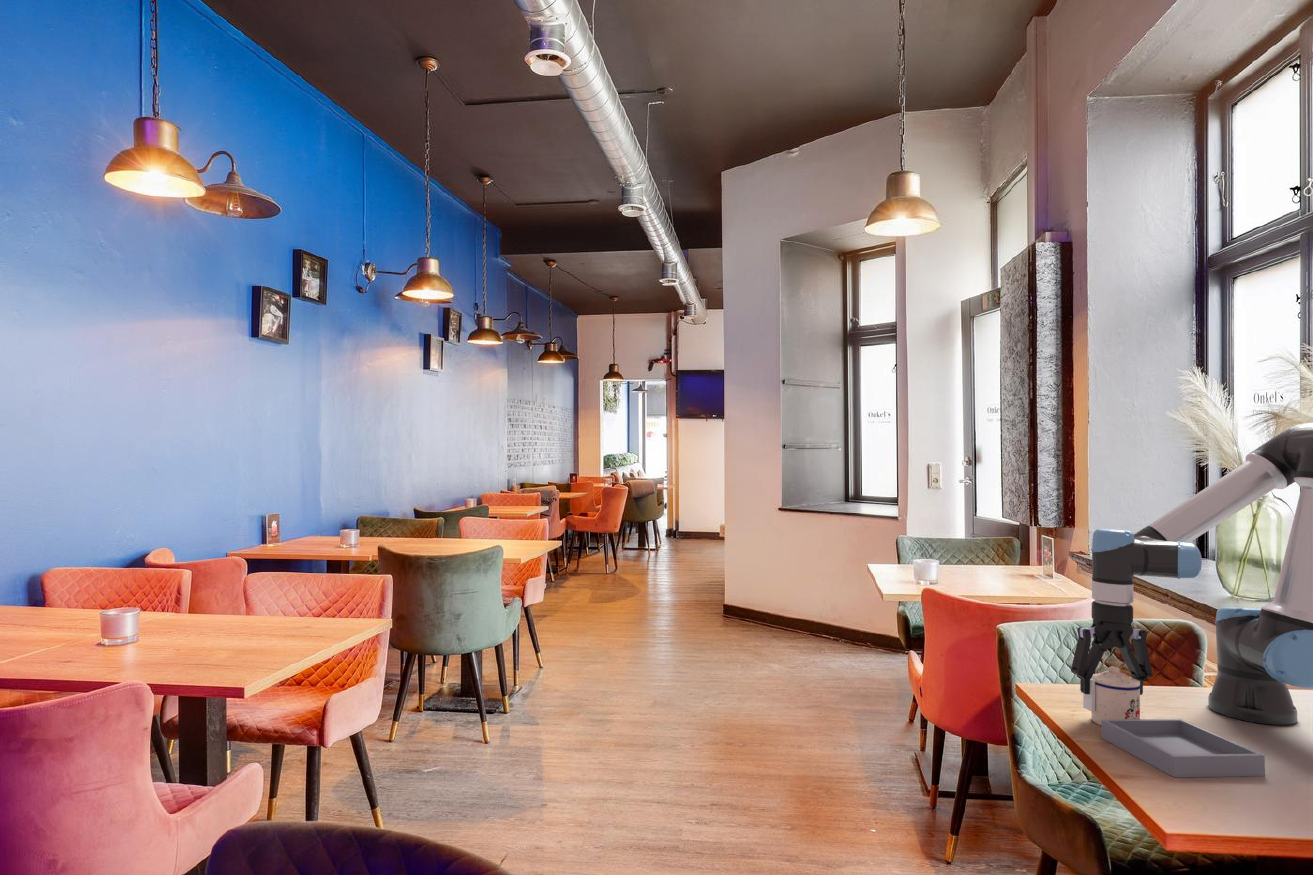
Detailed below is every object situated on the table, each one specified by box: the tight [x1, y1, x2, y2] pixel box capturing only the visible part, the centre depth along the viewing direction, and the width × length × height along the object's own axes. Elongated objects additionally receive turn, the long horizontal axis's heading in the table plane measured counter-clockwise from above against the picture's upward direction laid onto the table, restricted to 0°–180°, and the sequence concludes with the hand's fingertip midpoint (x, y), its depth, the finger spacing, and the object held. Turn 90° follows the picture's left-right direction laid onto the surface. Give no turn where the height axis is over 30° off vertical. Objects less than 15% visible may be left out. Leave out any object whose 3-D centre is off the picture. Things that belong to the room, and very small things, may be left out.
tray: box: [1100, 718, 1266, 778], centre depth 136 cm, size 17×19×4 cm
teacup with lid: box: [1090, 665, 1141, 726], centre depth 154 cm, size 12×9×12 cm
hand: (1111, 709), depth 154 cm, fingers open, 9 cm apart
